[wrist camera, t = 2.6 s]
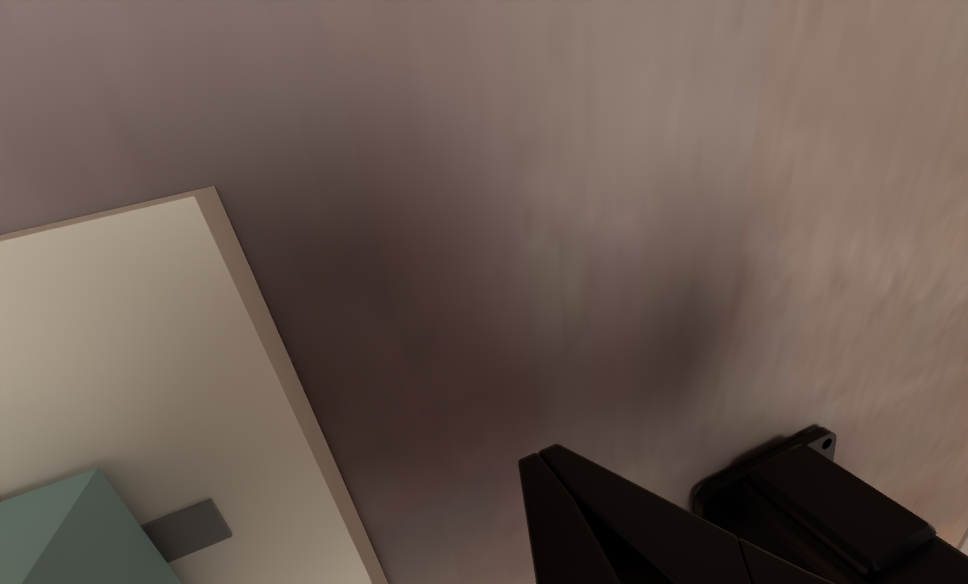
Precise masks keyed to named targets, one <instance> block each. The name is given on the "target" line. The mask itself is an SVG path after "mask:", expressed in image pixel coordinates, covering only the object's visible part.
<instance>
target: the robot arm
mask: <svg viewBox="0 0 968 584" xmlns="http://www.w3.org/2000/svg"><path fill="white" fill-rule="evenodd" d="M835 445H836V435H835V433H833V432H831V431H830V430H828V429H826V428H825V427H819V428H817V429H815V430H813V431H811V432H809V433H807V434H805V435H803V436H801V437H799V438H797V439H795V440H793V441H791V442H789V443H787V444H785V445H783V446H781V447H779V448H777V449H775V450H773V451H771V452H769V453H767V454H765V455H763V456H761V457H759V458H757V459H755V460H753V461H751V462H749V463H747V464H745V465H743V466H741V467H739V468H737V469H735V470H733V471H731V472H729V473H727V474H725V475H723V476H721V477H719V478H717V479H715V480H713V481H711V482H709V483H707V484H705V485H703V486H702V487H701V488H700V489H699V490H698V491H697V493H696V494H695V498H694V514H693V513H691V512H689V511H687V510H685V509H683V508H681V507H679V506H677V505H675V504H673V503H671V502H669V501H668V500H666V499H664V498H662V497H660V496H658V495H656V494H654V493H652V492H650V491H648V490H646V489H644V488H642V487H640V486H639V485H637V484H635V483H633V482H631V481H629V480H627V479H625V478H623V477H621V476H619V475H617V474H615V473H613V472H612V471H610V470H608V469H606V468H604V467H602V466H600V465H598V464H596V463H594V462H592V461H590V460H588V459H586V458H584V457H583V456H581V455H579V454H577V453H575V452H573V451H571V450H569V449H567V448H565V447H563V446H561V445H559V444H554V445H552V446H549V447H547V448H545V449H542V450H540V451H539V453H538V454H537V453H533V454H531V455H528V456H526V457H524V458H521V459H520V460H519V461H518V466H519V473H520V479H521V486H522V492H523V499H524V506H525V512H526V519H527V525H528V532H529V539H530V545H531V552H532V558H533V565H534V572H535V578H536V584H968V556H967V555H965V554H964V553H962V552H961V551H959V550H958V549H956V548H955V547H953V546H952V545H950V544H949V543H947V542H945V541H944V540H942V539H941V538H939V537H938V536H936V533H937V532H936V530H935V528H934V527H933V526H932V525H930V524H929V523H928V522H926V521H925V520H923V519H922V518H920V517H918V516H917V515H915V514H914V513H912V512H911V511H909V510H908V509H906V508H904V507H903V506H901V505H900V504H898V503H897V502H895V501H894V500H892V499H890V498H889V497H887V496H886V495H884V494H883V493H881V492H880V491H878V490H876V489H875V488H873V487H872V486H870V485H869V484H867V483H866V482H864V481H862V480H861V479H859V478H858V477H856V476H855V475H853V474H852V473H850V472H848V471H847V470H845V469H844V468H842V467H841V466H839V465H838V464H836V463H834V462H833V457H834V451H835Z"/></svg>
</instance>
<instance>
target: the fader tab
mask: <svg viewBox="0 0 968 584" xmlns="http://www.w3.org/2000/svg"><path fill="white" fill-rule="evenodd" d="M0 584H182V583H181V581H180V580H179V579H178V577H177V576H176V575H175V573H174V572H173V570H172V569H171V568H170V566H169V565H168V564H167V562H166V561H165V559H164V558H163V557H162V555H161V554H160V553H159V551H158V550H157V548H156V547H155V546H154V544H153V543H152V542H151V540H150V539H149V537H148V536H147V535H146V533H145V532H144V531H143V529H142V528H141V526H140V525H139V524H138V522H137V521H136V520H135V518H134V517H133V515H132V514H131V513H130V511H129V510H128V509H127V507H126V506H125V504H124V503H123V502H122V500H121V499H120V498H119V496H118V495H117V493H116V492H115V491H114V489H113V488H112V487H111V485H110V484H109V482H108V481H107V480H106V478H105V477H104V475H103V474H102V473H101V471H100V470H99V469H98V468H96V469H93V470H90V471H87V472H84V473H81V474H78V475H76V476H73V477H70V478H67V479H64V480H61V481H58V482H56V483H53V484H50V485H47V486H44V487H41V488H38V489H36V490H33V491H30V492H27V493H24V494H21V495H18V496H16V497H13V498H10V499H7V500H4V501H1V502H0Z"/></svg>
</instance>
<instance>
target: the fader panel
mask: <svg viewBox="0 0 968 584" xmlns="http://www.w3.org/2000/svg"><path fill="white" fill-rule="evenodd" d="M96 468H98V469H99V470H100V471H101V473H102V474H103V475H104V477H105V478H106V480H107V481H108V482H109V484H110V485H111V487H112V488H113V489H114V491H115V492H116V493H117V495H118V496H119V498H120V499H121V500H122V502H123V503H124V504H125V506H126V507H127V509H128V510H129V511H130V513H131V514H132V515H133V517H134V518H135V520H136V521H137V522H138V524H139V525H140V526H141V528H142V529H143V531H144V532H145V533H146V535H147V536H148V537H149V539H150V540H151V542H152V543H153V544H154V546H155V547H156V548H157V550H158V551H159V553H160V554H161V555H162V557H163V558H164V559H165V561H166V562H167V564H168V565H169V566H170V568H171V569H172V570H173V572H174V573H175V575H176V576H177V577H178V579H179V580H180V581H181V583H182V584H388V582H387V579H386V577H385V575H384V573H383V570H382V568H381V566H380V563H379V561H378V559H377V557H376V554H375V552H374V550H373V547H372V545H371V543H370V541H369V538H368V536H367V534H366V531H365V529H364V527H363V525H362V522H361V520H360V518H359V515H358V513H357V511H356V509H355V506H354V504H353V502H352V499H351V497H350V495H349V493H348V490H347V488H346V486H345V484H344V481H343V479H342V477H341V474H340V472H339V470H338V468H337V465H336V463H335V461H334V458H333V456H332V454H331V452H330V449H329V447H328V445H327V442H326V440H325V438H324V436H323V433H322V431H321V429H320V426H319V424H318V422H317V420H316V417H315V415H314V413H313V410H312V408H311V406H310V404H309V401H308V399H307V397H306V394H305V392H304V390H303V388H302V385H301V383H300V381H299V378H298V376H297V374H296V372H295V369H294V367H293V365H292V362H291V360H290V358H289V356H288V353H287V351H286V349H285V346H284V344H283V342H282V340H281V337H280V335H279V333H278V330H277V328H276V326H275V324H274V321H273V319H272V317H271V314H270V312H269V310H268V308H267V305H266V303H265V301H264V298H263V296H262V294H261V292H260V289H259V287H258V285H257V282H256V280H255V278H254V276H253V273H252V271H251V269H250V266H249V264H248V262H247V260H246V257H245V255H244V253H243V250H242V248H241V246H240V244H239V241H238V239H237V237H236V234H235V232H234V230H233V228H232V225H231V223H230V221H229V218H228V216H227V214H226V212H225V209H224V207H223V205H222V202H221V200H220V198H219V196H218V193H217V191H216V189H215V186H211V187H206V188H202V189H198V190H193V191H189V192H185V193H180V194H176V195H172V196H167V197H163V198H159V199H154V200H150V201H146V202H141V203H137V204H133V205H128V206H124V207H120V208H115V209H111V210H107V211H102V212H98V213H94V214H89V215H85V216H81V217H77V218H72V219H68V220H64V221H59V222H55V223H51V224H46V225H42V226H38V227H33V228H29V229H25V230H20V231H16V232H12V233H7V234H3V235H0V502H1V501H4V500H7V499H10V498H13V497H16V496H18V495H21V494H24V493H27V492H30V491H33V490H36V489H38V488H41V487H44V486H47V485H50V484H53V483H56V482H58V481H61V480H64V479H67V478H70V477H73V476H76V475H78V474H81V473H84V472H87V471H90V470H93V469H96Z"/></svg>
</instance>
